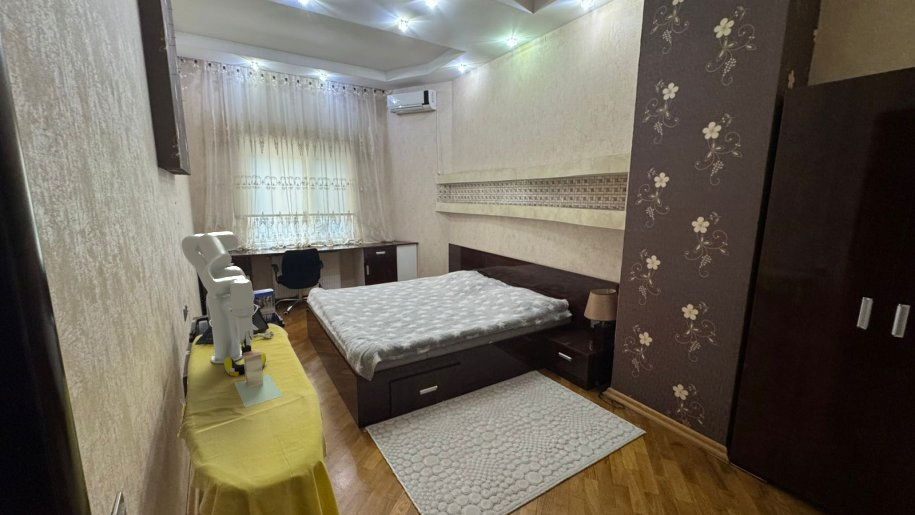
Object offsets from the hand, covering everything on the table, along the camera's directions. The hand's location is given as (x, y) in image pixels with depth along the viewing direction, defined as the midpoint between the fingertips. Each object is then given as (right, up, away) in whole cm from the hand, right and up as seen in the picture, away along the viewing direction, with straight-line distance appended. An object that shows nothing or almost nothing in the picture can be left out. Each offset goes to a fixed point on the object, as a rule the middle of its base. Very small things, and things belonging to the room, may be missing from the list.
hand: (246, 355), depth 147 cm
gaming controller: (-2, -7, +3) cm, 9 cm away
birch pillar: (+7, -9, -7) cm, 13 cm away
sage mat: (+11, -10, -11) cm, 18 cm away
